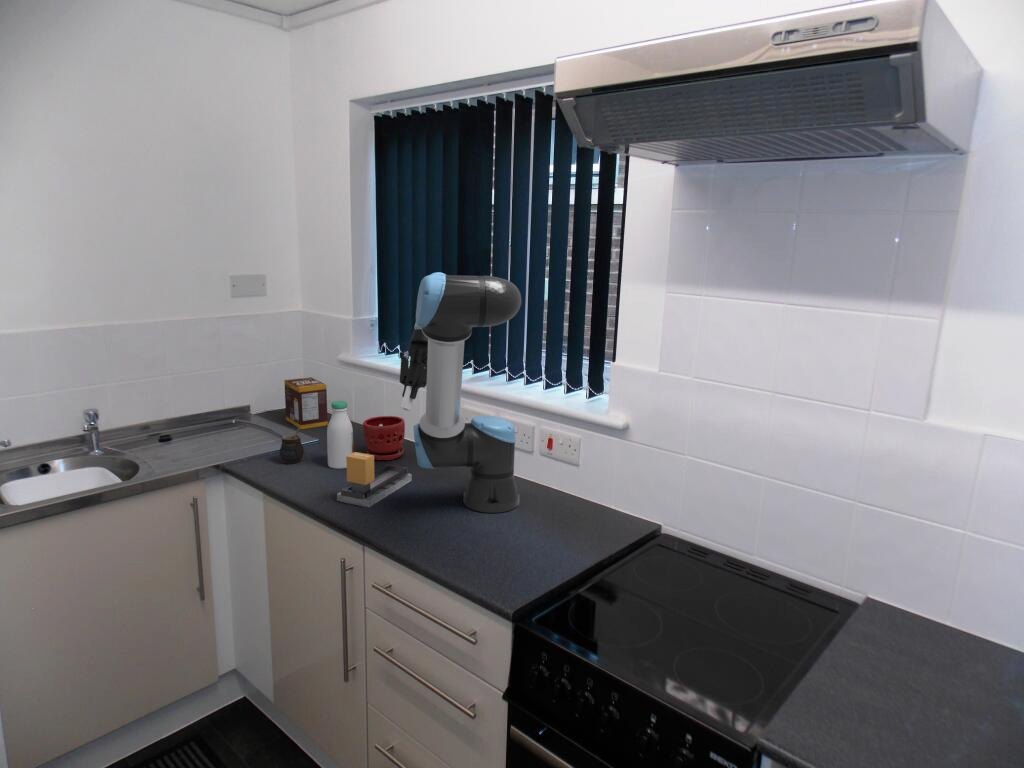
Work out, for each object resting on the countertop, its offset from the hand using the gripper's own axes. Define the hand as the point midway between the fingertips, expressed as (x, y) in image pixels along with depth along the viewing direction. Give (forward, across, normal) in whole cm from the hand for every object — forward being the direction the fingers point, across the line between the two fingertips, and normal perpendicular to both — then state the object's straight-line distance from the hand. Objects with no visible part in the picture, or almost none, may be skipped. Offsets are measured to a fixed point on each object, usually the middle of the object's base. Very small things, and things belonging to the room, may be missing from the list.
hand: (405, 409), depth 190 cm
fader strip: (+24, +4, -2) cm, 24 cm away
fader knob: (+25, +3, +5) cm, 26 cm away
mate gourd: (+20, +41, -7) cm, 46 cm away
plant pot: (+11, +20, -23) cm, 32 cm away
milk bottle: (+18, +26, -11) cm, 33 cm away
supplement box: (+1, +67, -36) cm, 76 cm away
